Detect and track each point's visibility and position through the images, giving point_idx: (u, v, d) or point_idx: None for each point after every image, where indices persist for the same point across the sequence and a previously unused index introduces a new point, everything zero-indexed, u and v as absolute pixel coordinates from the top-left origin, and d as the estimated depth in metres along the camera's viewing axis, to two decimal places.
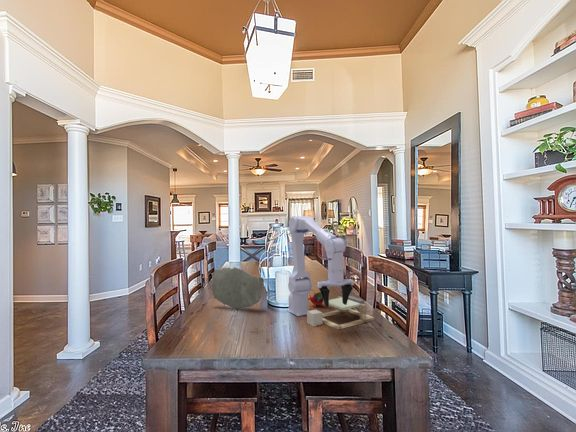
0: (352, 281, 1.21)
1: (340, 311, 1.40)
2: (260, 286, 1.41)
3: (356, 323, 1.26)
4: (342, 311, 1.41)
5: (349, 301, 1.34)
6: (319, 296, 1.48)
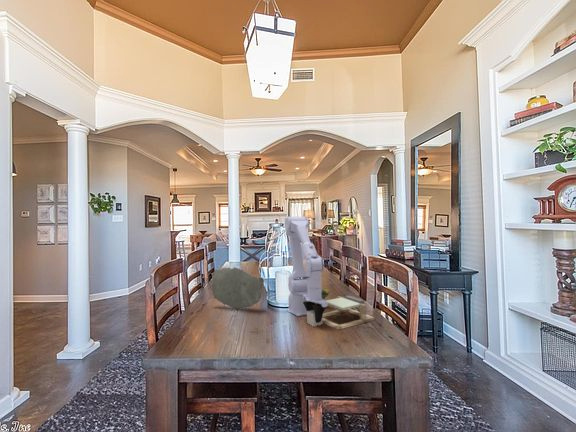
0: (322, 303, 1.21)
1: (340, 311, 1.40)
2: (260, 286, 1.41)
3: (356, 323, 1.26)
4: (342, 311, 1.41)
5: (349, 301, 1.34)
6: None
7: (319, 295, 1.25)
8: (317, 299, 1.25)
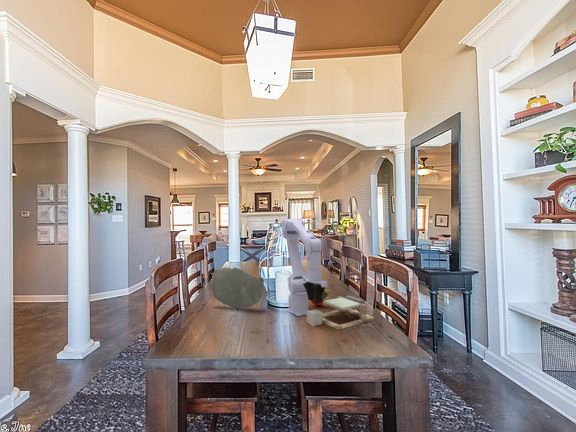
0: (322, 283, 1.21)
1: (340, 311, 1.40)
2: (260, 286, 1.41)
3: (356, 323, 1.26)
4: (342, 311, 1.41)
5: (349, 301, 1.34)
6: None
7: (319, 276, 1.25)
8: (317, 280, 1.25)
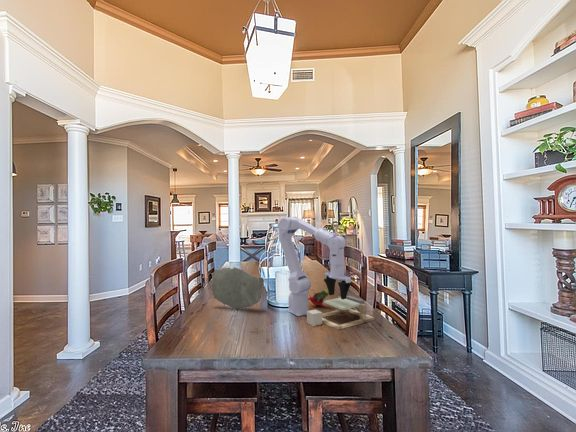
0: (346, 279, 1.25)
1: (340, 311, 1.40)
2: (260, 286, 1.41)
3: (356, 323, 1.26)
4: (342, 311, 1.41)
5: (349, 301, 1.34)
6: (319, 296, 1.48)
7: (342, 272, 1.29)
8: (340, 276, 1.28)
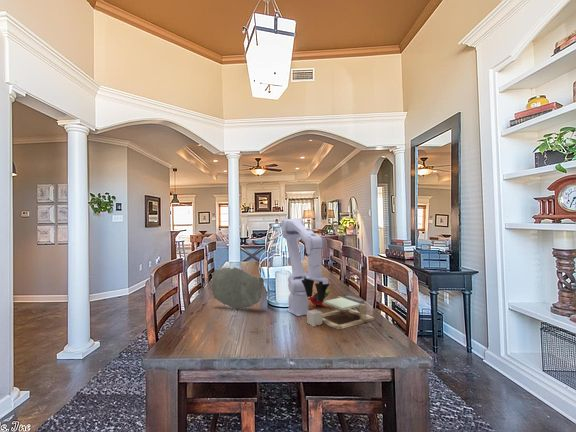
0: (323, 280, 1.21)
1: (340, 311, 1.40)
2: (260, 286, 1.41)
3: (356, 323, 1.26)
4: (342, 311, 1.41)
5: (349, 301, 1.34)
6: None
7: (319, 273, 1.25)
8: (317, 277, 1.24)
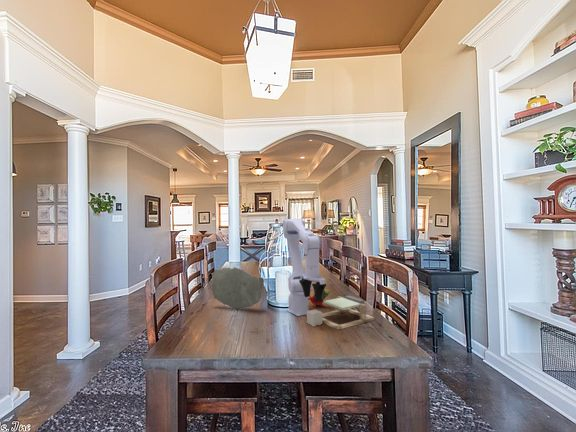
0: (320, 280, 1.20)
1: (340, 311, 1.40)
2: (260, 286, 1.41)
3: (356, 323, 1.26)
4: (342, 311, 1.41)
5: (349, 301, 1.34)
6: None
7: (317, 273, 1.25)
8: (315, 277, 1.24)
